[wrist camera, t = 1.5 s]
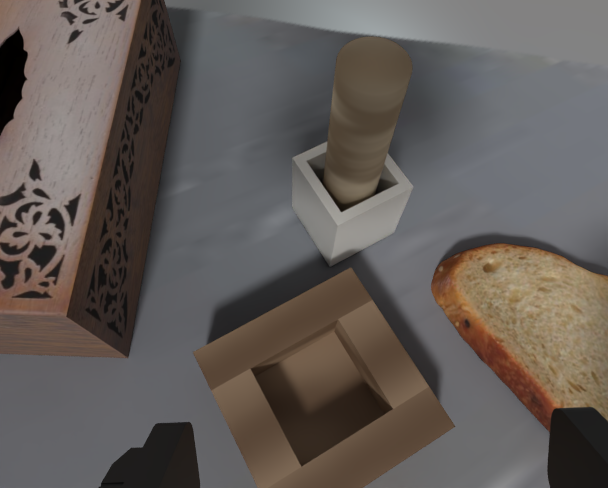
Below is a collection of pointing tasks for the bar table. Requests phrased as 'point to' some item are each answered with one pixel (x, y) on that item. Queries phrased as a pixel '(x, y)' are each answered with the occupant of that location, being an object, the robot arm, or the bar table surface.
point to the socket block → (321, 391)
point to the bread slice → (531, 323)
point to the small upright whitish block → (354, 221)
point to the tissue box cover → (79, 168)
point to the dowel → (363, 116)
